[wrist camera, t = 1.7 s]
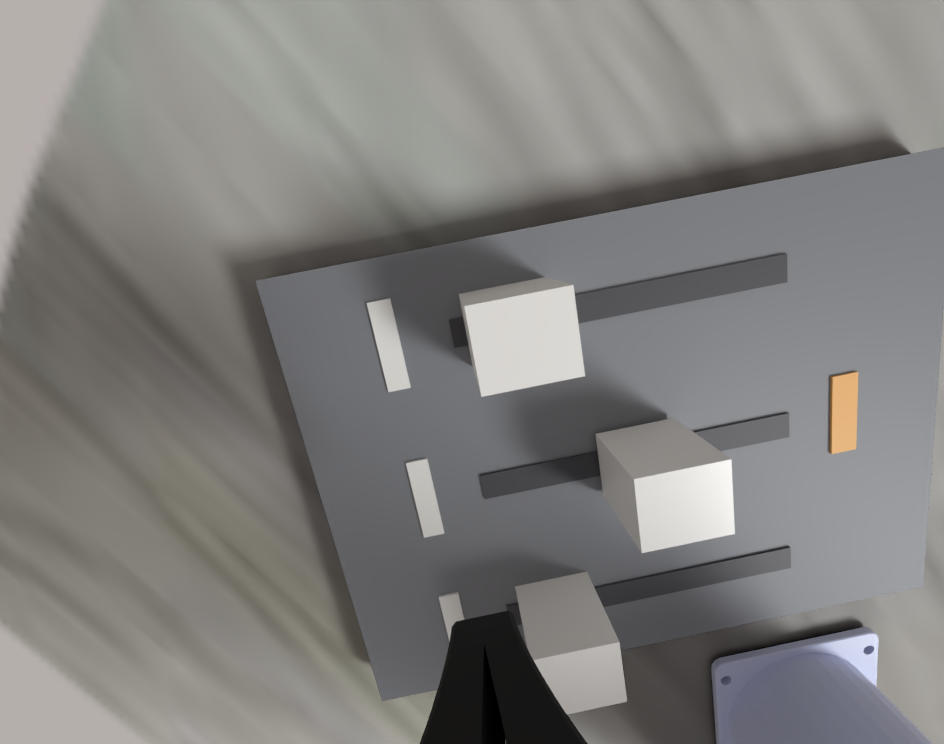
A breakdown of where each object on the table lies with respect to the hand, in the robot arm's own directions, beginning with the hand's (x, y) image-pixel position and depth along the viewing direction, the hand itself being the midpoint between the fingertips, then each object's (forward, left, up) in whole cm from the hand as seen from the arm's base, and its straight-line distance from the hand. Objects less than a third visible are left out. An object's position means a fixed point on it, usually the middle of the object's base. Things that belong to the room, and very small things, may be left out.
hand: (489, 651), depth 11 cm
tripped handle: (0, -7, -7) cm, 10 cm away
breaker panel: (0, -7, -9) cm, 11 cm away
